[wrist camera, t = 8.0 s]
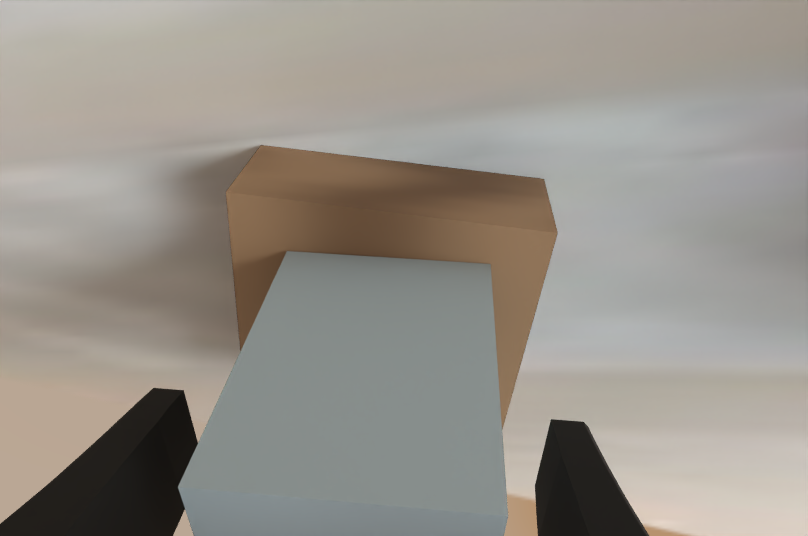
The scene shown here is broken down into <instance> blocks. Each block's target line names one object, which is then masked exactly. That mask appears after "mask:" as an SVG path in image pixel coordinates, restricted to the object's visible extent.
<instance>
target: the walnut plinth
mask: <svg viewBox="0 0 808 536" xmlns="http://www.w3.org/2000/svg"><path fill="white" fill-rule="evenodd" d="M226 200H227V211H228V222H229V232H230V243H231V254H232V265H233V275H234V286H235V297H236V308H237V319H238V329H239V340H240V351H241V349H242V347H243V345H244V343H245V341H246V339H247V336H248V334H249V332H250V330H251V328H252V326H253V323H254V321H255V319H256V317H257V315H258V313H259V310H260V308H261V306H262V304H263V302H264V300H265V297H266V295H267V293H268V291H269V289H270V287H271V284H272V282H273V280H274V278H275V276H276V274H277V271H278V269H279V267H280V265H281V263H282V261H283V258H284V256H285V254H286V252H287V251H293V252H309V253H325V254H341V255H356V256H372V257H388V258H404V259H420V260H435V261H451V262H467V263H483V264H491V277H492V292H493V306H494V321H495V335H496V350H497V364H498V378H499V393H500V407H501V422H502V429H503V425H504V421H505V418H506V414H507V411H508V407H509V404H510V400H511V397H512V393H513V390H514V386H515V382H516V379H517V375H518V372H519V368H520V365H521V361H522V358H523V354H524V350H525V347H526V343H527V340H528V336H529V333H530V329H531V326H532V322H533V319H534V315H535V311H536V308H537V304H538V301H539V297H540V294H541V290H542V287H543V283H544V280H545V276H546V272H547V269H548V265H549V262H550V258H551V255H552V251H553V248H554V244H555V240H556V237H557V229H556V225H555V221H554V217H553V213H552V209H551V205H550V201H549V197H548V193H547V189H546V185H545V181H544V179H540V178H531V177H523V176H515V175H506V174H498V173H490V172H481V171H473V170H465V169H456V168H448V167H439V166H431V165H423V164H414V163H406V162H398V161H389V160H381V159H373V158H364V157H356V156H348V155H339V154H331V153H323V152H314V151H306V150H298V149H289V148H281V147H272V146H264V145H261V146H260V147H259V148H258V150H257V151H256V152H255V154H254V155H253V156H252V158H251V159H250V160H249V162H248V163H247V164H246V166H245V167H244V168H243V170H242V171H241V172H240V174H239V175H238V176H237V178H236V179H235V180H234V182H233V183H232V184H231V186H230V187H229V188H228V190H227V191H226Z"/></svg>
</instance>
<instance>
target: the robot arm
mask: <svg viewBox="0 0 808 536" xmlns="http://www.w3.org/2000/svg"><path fill="white" fill-rule="evenodd" d="M197 445H198V442H197V439H196V434H195V431H194V427H193V423H192V420H191V416H190V412H189V409H188V405H187V401H186V398H185V394H184V390H172V389H159V388H153V389H152V390H151V391H150V392H149V393H148V394H146V395H145V396H144V397H143V398H142V399H141V400H140V401H139V402H138V403H137V404H135V405H134V406H133V407H132V408H131V409H130V410H129V411H128V412H127V413H126V414H125V415H124V416H123V417H122V418H121V419H119V420H118V421H117V422H116V423H115V424H114V425H113V426H112V427H111V428H110V429H109V430H108V431H107V432H106V433H105V434H103V435H102V436H101V437H100V438H99V439H98V440H97V441H96V442H95V443H94V444H93V445H91V447H89V448H88V449H87V450H86V451H85V452H84V453H83V454H81V455H80V456H79V457H78V458H77V459H76V460H75V461H74V462H73V463H71V464H70V465H69V466H68V467H67V468H66V469H65V470H64V471H63V472H61V473H60V474H59V475H58V476H57V477H56V478H55V479H53V481H51V482H50V483H49V484H48V485H47V486H45V487H44V488H43V489H42V490H41V491H40V492H38V493H37V494H36V495H35V496H33V497H32V498H31V499H30V500H29V501H27V502H26V503H25V504H24V505H23V506H21V507H20V508H19V509H18V510H17V511H15V512H14V513H13V514H12V515H11V516H9V517H8V518H7V519H6V520H4V521H3V522H2V523H1V524H0V536H173V534H174V532H175V529H176V528H177V525H178V523H179V521H180V519H181V516H182V514H183V512H184V510H185V507H184V504H183V501H182V498H181V495H180V492H179V489H178V486H179V484H180V481H181V479H182V477H183V475H184V473H185V471H186V468H187V466H188V464H189V462H190V460H191V458H192V456H193V453H194V451H195V449H196V447H197ZM535 494H536V513H537V528H538V536H649V535H648V533H647V531H646V530H645V528H644V527H643V525H642V523H641V522H640V520H639V518H638V517H637V515H636V514H635V512H634V510H633V509H632V507H631V505H630V504H629V502H628V500H627V499H626V497H625V495H624V493H623V492H622V490H621V488H620V486H619V485H618V483H617V481H616V479H615V478H614V476H613V474H612V472H611V470H610V469H609V467H608V465H607V463H606V461H605V459H604V457H603V455H602V454H601V452H600V450H599V448H598V446H597V444H596V442H595V440H594V438H593V436H592V434H591V432H590V430H589V428H588V426H587V425H586V424H585V423H584V422H578V421H565V420H552V419H551V422H550V426H549V430H548V434H547V438H546V442H545V447H544V451H543V455H542V459H541V463H540V467H539V471H538V475H537V480H536V484H535Z"/></svg>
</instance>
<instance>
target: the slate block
mask: <svg viewBox="0 0 808 536" xmlns="http://www.w3.org/2000/svg"><path fill="white" fill-rule="evenodd" d="M178 489H179V492H180V495H181V498H182V501H183V504H184V507H185V510H186V513H187V516H188V519H189V522H190V525H191V528H192V531H193V534H194V536H504V533H505V528H506V523H507V519H508V509H507V494H506V480H505V465H504V451H503V436H502V422H501V407H500V393H499V378H498V364H497V350H496V335H495V321H494V306H493V292H492V277H491V264H483V263H467V262H451V261H435V260H420V259H404V258H388V257H372V256H356V255H341V254H325V253H309V252H293V251H287V252H286V254H285V256H284V258H283V261H282V263H281V265H280V267H279V269H278V271H277V274H276V276H275V278H274V280H273V282H272V284H271V287H270V289H269V291H268V293H267V295H266V297H265V300H264V302H263V304H262V306H261V308H260V310H259V313H258V315H257V317H256V319H255V321H254V323H253V326H252V328H251V330H250V332H249V334H248V336H247V339H246V341H245V343H244V345H243V347H242V349H241V352H240V354H239V356H238V358H237V360H236V362H235V365H234V367H233V369H232V371H231V373H230V375H229V378H228V380H227V382H226V384H225V386H224V388H223V391H222V393H221V395H220V397H219V399H218V401H217V404H216V406H215V408H214V410H213V412H212V414H211V417H210V419H209V421H208V423H207V425H206V427H205V430H204V432H203V434H202V436H201V438H200V441H199V443H198V445H197V447H196V449H195V451H194V453H193V456H192V458H191V460H190V462H189V464H188V466H187V468H186V471H185V473H184V475H183V477H182V479H181V481H180V484H179V486H178Z"/></svg>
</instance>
